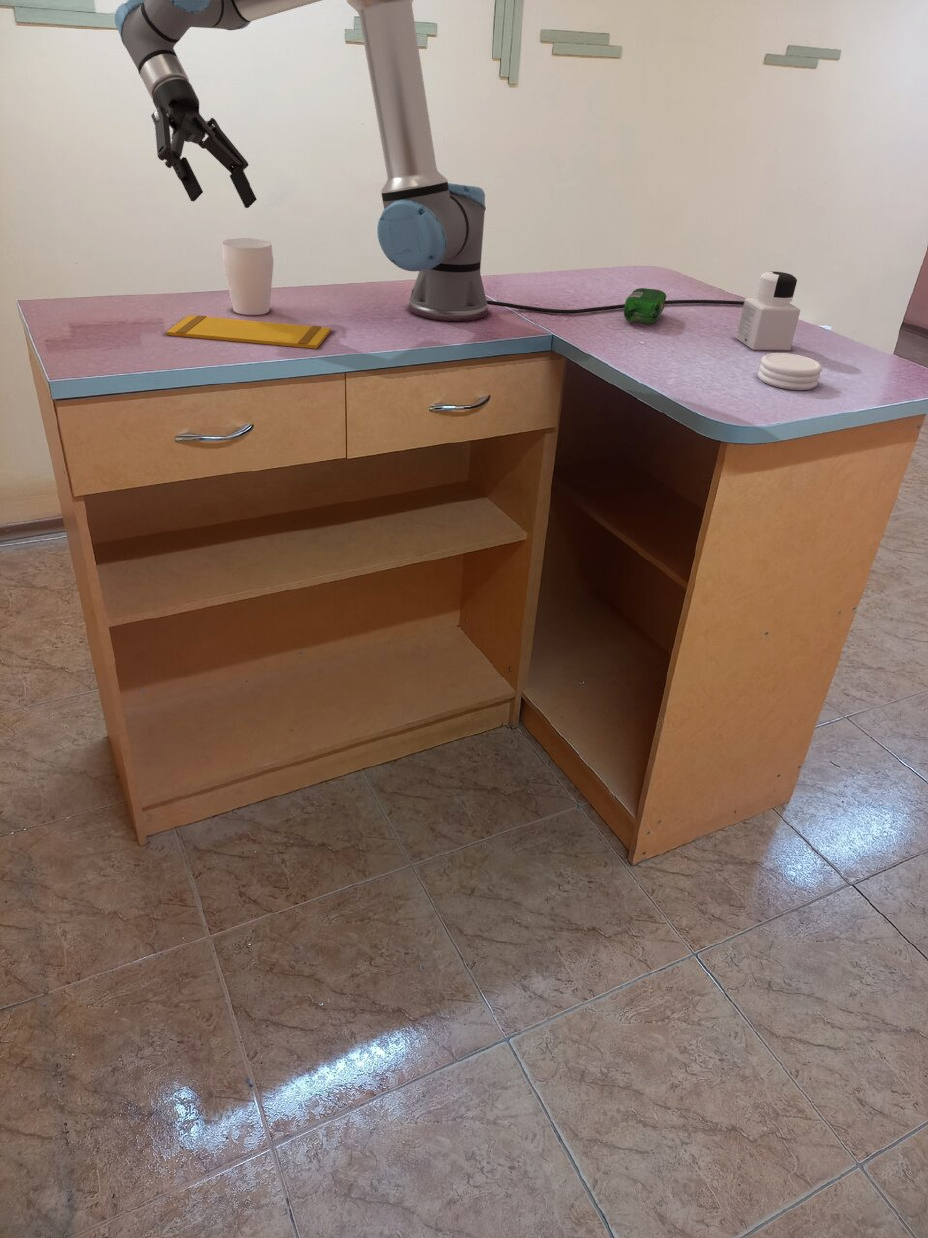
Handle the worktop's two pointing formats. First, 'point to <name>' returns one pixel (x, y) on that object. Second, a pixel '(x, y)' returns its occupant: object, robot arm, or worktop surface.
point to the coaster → (789, 371)
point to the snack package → (644, 305)
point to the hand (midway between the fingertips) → (225, 200)
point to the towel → (250, 331)
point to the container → (770, 314)
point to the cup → (249, 274)
